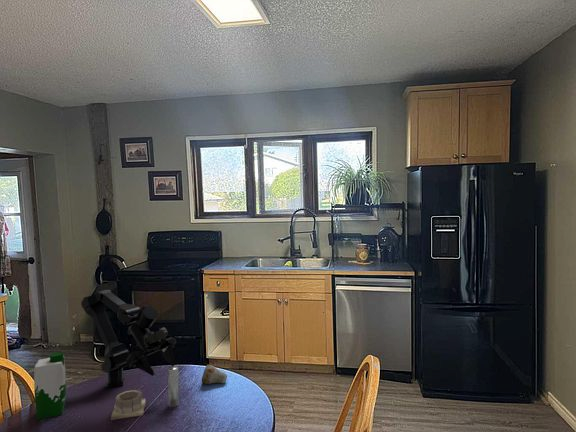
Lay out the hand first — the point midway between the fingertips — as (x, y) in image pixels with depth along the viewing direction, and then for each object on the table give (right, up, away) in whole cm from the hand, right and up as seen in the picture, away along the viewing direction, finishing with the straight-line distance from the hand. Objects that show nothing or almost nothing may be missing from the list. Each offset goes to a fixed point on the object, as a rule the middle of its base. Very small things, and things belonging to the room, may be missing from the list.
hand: (164, 370), depth 138 cm
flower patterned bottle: (+16, -11, +15) cm, 24 cm away
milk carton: (-37, -13, -6) cm, 40 cm away
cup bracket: (-10, -12, -5) cm, 17 cm away
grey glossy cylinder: (+4, -11, -2) cm, 12 cm away
